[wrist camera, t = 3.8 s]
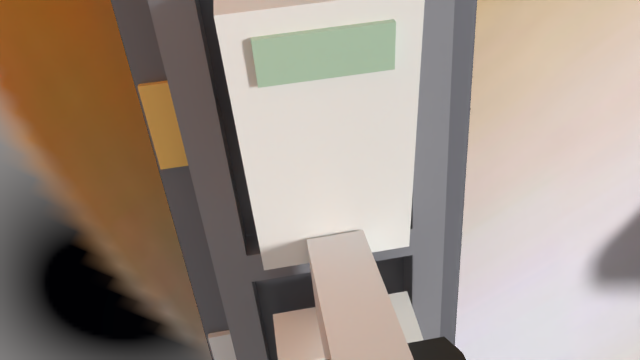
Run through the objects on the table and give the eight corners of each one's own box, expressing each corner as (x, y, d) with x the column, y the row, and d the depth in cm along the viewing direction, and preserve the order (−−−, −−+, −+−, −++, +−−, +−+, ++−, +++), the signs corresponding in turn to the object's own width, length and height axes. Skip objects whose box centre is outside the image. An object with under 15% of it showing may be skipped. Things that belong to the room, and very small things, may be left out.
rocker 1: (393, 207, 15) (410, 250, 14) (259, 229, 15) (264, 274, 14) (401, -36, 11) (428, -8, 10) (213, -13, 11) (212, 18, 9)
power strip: (420, 330, 25) (459, 422, 21) (235, 363, 24) (236, 466, 20) (437, -619, 11) (571, -944, 7) (-10, -610, 10) (-186, -970, 6)
